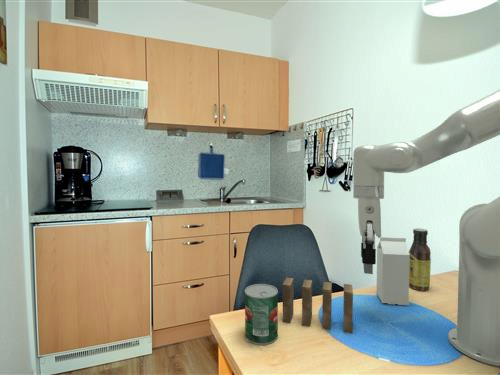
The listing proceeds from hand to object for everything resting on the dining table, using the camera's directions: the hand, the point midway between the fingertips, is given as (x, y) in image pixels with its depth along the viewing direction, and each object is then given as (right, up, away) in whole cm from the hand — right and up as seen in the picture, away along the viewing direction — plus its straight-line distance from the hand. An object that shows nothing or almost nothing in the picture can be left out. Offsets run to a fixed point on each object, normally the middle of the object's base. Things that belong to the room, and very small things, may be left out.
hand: (368, 259), depth 74 cm
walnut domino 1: (-21, -16, 0) cm, 26 cm away
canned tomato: (-29, -16, -8) cm, 34 cm away
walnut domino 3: (-12, -16, -3) cm, 20 cm away
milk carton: (+11, -15, +10) cm, 21 cm away
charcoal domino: (0, -3, 0) cm, 3 cm away
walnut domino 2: (-17, -16, -2) cm, 23 cm away
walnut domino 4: (-7, -16, -5) cm, 18 cm away
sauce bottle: (+25, -14, +18) cm, 34 cm away
